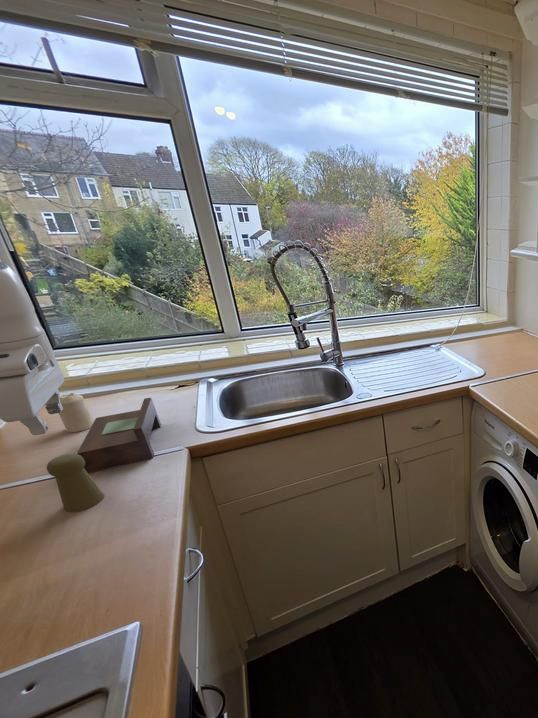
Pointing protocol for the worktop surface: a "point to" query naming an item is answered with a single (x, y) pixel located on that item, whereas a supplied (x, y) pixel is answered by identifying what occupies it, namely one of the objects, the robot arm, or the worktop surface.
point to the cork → (74, 483)
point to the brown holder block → (120, 438)
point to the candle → (75, 413)
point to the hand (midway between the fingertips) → (49, 422)
